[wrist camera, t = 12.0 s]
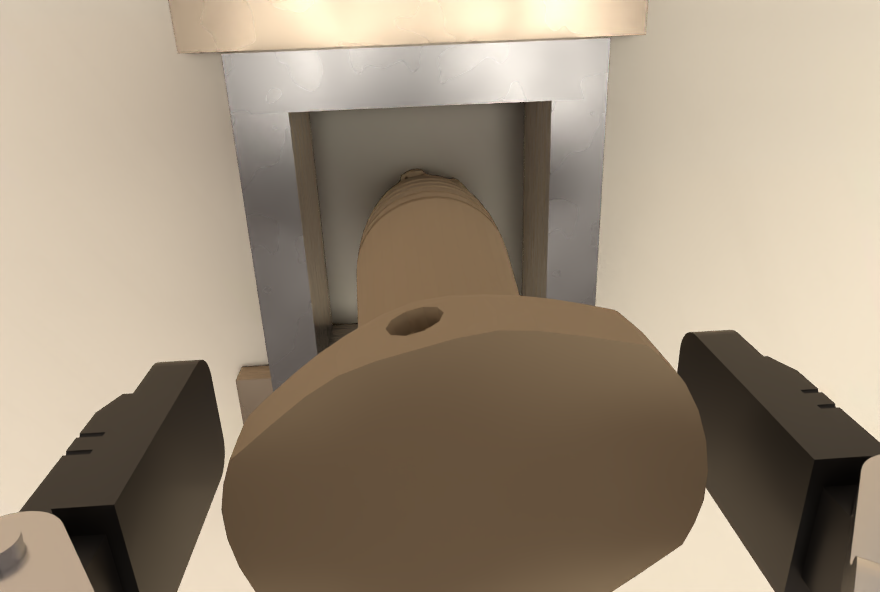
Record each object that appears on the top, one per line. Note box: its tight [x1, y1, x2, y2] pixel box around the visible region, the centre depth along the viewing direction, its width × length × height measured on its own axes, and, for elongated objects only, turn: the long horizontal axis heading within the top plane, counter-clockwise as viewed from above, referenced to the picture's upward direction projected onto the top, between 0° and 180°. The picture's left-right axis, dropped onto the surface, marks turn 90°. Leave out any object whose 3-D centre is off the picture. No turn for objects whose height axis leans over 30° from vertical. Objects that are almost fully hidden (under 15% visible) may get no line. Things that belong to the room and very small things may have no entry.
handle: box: [222, 169, 708, 592], centre depth 16 cm, size 5×6×15 cm
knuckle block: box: [168, 0, 648, 424], centre depth 21 cm, size 20×14×4 cm
